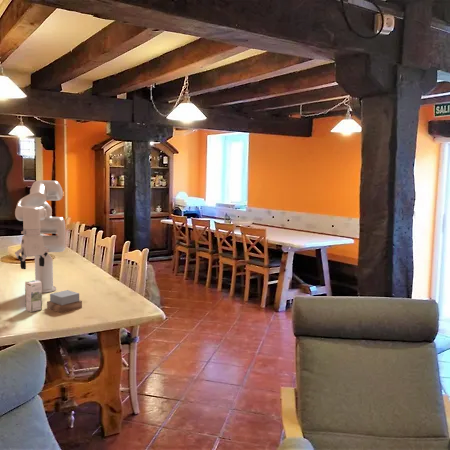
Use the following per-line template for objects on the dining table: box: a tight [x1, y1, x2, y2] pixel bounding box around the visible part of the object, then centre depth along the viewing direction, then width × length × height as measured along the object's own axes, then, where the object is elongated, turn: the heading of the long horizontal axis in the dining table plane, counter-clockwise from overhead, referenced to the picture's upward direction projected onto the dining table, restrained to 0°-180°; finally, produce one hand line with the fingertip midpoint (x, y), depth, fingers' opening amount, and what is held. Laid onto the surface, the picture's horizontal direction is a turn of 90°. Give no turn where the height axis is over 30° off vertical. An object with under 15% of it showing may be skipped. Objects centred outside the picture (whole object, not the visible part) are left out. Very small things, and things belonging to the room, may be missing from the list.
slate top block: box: [49, 289, 80, 305], centre depth 236 cm, size 10×10×4 cm
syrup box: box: [24, 279, 43, 313], centre depth 231 cm, size 6×6×14 cm
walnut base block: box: [46, 299, 83, 314], centre depth 237 cm, size 12×12×4 cm
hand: (32, 267), depth 229 cm, fingers open, 9 cm apart
